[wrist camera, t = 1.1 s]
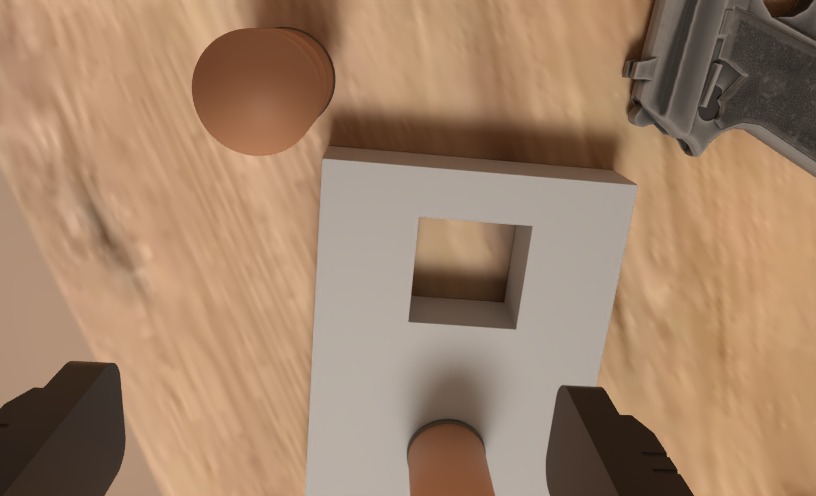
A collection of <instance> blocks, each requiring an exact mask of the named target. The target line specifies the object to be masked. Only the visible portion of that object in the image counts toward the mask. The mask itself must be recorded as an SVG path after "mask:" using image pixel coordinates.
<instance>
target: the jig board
mask: <svg viewBox="0 0 816 496" xmlns="http://www.w3.org/2000/svg"><path fill="white" fill-rule="evenodd" d="M637 189H638V185H637V184H635V183H634V182H632V181H630V180H629V179H627V178H625V177H624V176H622V175H621V174H619V173H617V172H616V171H614V170H604V169H592V168H581V167H569V166H558V165H546V164H534V163H523V162H511V161H500V160H488V159H477V158H465V157H454V156H442V155H430V154H419V153H407V152H396V151H384V150H373V149H361V148H350V147H338V146H328V148H327V150H326V152H325V154H324V156H323V158H322V176H321V195H320V215H319V234H318V253H317V273H316V292H315V312H314V331H313V350H312V370H311V389H310V409H309V428H308V447H307V467H306V486H305V496H550V494H549V491H548V487H547V481H546V454H547V448H548V442H549V436H550V430H551V424H552V418H553V413H554V407H555V401H556V396H557V392H558V389H559V388H560V386H561V385H571V386H593V387H596V383H597V378H598V374H599V369H600V364H601V359H602V355H603V350H604V345H605V341H606V336H607V331H608V326H609V322H610V317H611V312H612V307H613V303H614V298H615V293H616V288H617V284H618V279H619V274H620V270H621V265H622V260H623V255H624V251H625V246H626V241H627V236H628V232H629V227H630V222H631V217H632V213H633V208H634V203H635V199H636V194H637ZM419 217H425V218H438V219H450V220H463V221H475V222H488V223H500V224H513V225H516V228H515V235H514V241H513V248H512V255H511V261H510V268H509V274H508V281H507V287H506V294H505V300H504V302H491V301H477V300H463V299H449V298H436V297H422V296H411V291H412V281H413V271H414V262H415V252H416V242H417V232H418V223H419Z"/></svg>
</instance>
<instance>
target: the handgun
mask: <svg viewBox="0 0 816 496" xmlns="http://www.w3.org/2000/svg"><path fill="white" fill-rule="evenodd" d="M622 77H625V78H630V79H635V83H634V87H633V91H632V95H631V100H632V103H633V105H634V107H633V108H632V110H631V111H630V112H629V113H628V120H629V122H630V123H632V124H634V125H637V126H640V127H644V126H647V125H650V124H654V125H655V126H656V127H657V128H658V129H659V130H660V131H661V132H662V133H663V134H664V135H670V136H671V137H672V138H676V139H677V140H678V142H679V144H680V146H681V149H682V150H683V151H684V152H685V154H687V155H689V156H693V157H697V156H700V155H701V154H702V153H703V151H704V150H705V149H706V147H707V146H708V144H709V143H710V142H712V141H713V140H714V139H715V138H716V137H717V136H719V135H720V134H721V133H722V132H725V131H728V130H730V129H733V128H735V129H743V130H745V131H746V132H748V133H749V134H751V135H752V136H754V137H755V138H757V139H758V140H760V141H761V142H763V143H764V144H766V145H767V146H769V147H771V148H772V149H774V150H775V151H777V152H778V153H780V154H781V155H783V156H784V157H786V158H787V159H789V160H790V161H792V162H793V163H795V164H796V165H798V166H799V167H801V168H802V169H804V170H805V171H807V172H808V173H810V174H811V175H813V176H814V177H816V0H798V1H797V2H796V4H795V5H794V6H793V8H792V9H791V10H790V11H789V12H787V13H785V14H783V15H781V16H779V17H771V15H770V13H769V11H768V10H767V8H766V6H765V4H764V3H763V0H655V4H654V8H653V12H652V16H651V19H650V23H649V27H648V31H647V35H646V39H645V43H644V47H643V51H642V55H641V57H640V58H637V59H633V60H629V61H626V64H625V68H624V72H623V76H622Z"/></svg>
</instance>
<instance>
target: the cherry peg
mask: <svg viewBox="0 0 816 496" xmlns="http://www.w3.org/2000/svg"><path fill="white" fill-rule="evenodd" d="M334 89H335V70H334V66H333V63H332V60H331V58H330V56H329V54H328V52H327V51H326V49H325V48H324V46H323V45H322V44H321V43H320V42H319V41H318V40H317V39H315V38H314V37H313V36H311V35H310V34H308V33H306V32H304V31H302V30H299V29H296V28H290V27H277V28H247V29H239V30H235V31H231V32H229V33H226V34H224V35H222V36H220V37H219V38H217V39H216V40H215V41H213V42H212V43H211V44H210V45H209V46H208V47H207V48H206V49H205V50H204V52H203V53H202V55H201V56H200V58H199V60H198V62H197V64H196V67H195V70H194V74H193V79H192V96H193V101H194V106H195V109H196V111H197V114H198V116H199V118H200V120H201V122H202V123H203V125H204V126H205V128H206V129H207V130H208V132H209V133H210V134H211V135H212V136H213V137H214V138H215V139H216V140H217V141H219V142H220V143H221V144H223V145H224V146H226V147H228V148H230V149H232V150H234V151H236V152H239V153H242V154H246V155H252V156H266V155H272V154H276V153H279V152H282V151H284V150H286V149H288V148H290V147H292V146H293V145H294V144H296V143H297V142H298V141H299V140H300V139H301V138H302V137H303V136H304V135H305V134H306V132H307V131H308V130H309V128H310V127H311V126H312V124H313V123H314V122H315V120H316V119H317V118H318V117H319V116H320V115H321V114H322V113H323V112H324V110H325V109H326V108H327V106H328V105H329V103H330V101H331V99H332V96H333V93H334Z"/></svg>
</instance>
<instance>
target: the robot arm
mask: <svg viewBox="0 0 816 496" xmlns="http://www.w3.org/2000/svg"><path fill="white" fill-rule="evenodd" d="M124 450H125V427H124V414H123V403H122V391H121V380H120V372H119V369H118V367H117V365H116V364H115V363H103V362H82V361H81V362H80V361H70V362H68V363H67V364H65V365H64V366H63V368H62V369H61V370H60V371H59V372H58V373H57V374H56V375H55V376H54V377H53V378H52V379H51V380H50V382H49V383H48V384H47V385H46V386H45V387H44V388H32V389H31V390H29V391H27V392H25V393H23V394H22V395H20V396H18V397H16V398H15V399H13V400H11V401H9V402H7V403H6V404H4V405H3V406H2V408H0V496H104V495H105V494H106V492H107V490H108V489H109V487H110V485H111V484H112V482H113V480H114V478H115V476H116V475H117V473H118V471H119V469H120V466H121V464H122V460H123V456H124ZM546 481H547V487H548V491H549V494H550V496H694V495H693V493H692V492H691V490H690V489H689V487H688V486H687V484H686V482H685V481H684V479H683V478H682V476H681V475H680V474H678V473H677V468H676V467H675V465H674V464H673V462H672V461H671V459H670V458H669V457H667V453H666V451H665V450H664V448H663V447H662V445H661V444H660V442H659V440H658V439H657V437H656V436H655V434H654V433H653V432H652V431H650V430H649V429H648V428H647V427H645V426H644V425H643V424H642V423H640V422H639V421H638V420H637V419H635V418H634V417H633V416H632V415H619V413H618V411H617V410H616V408H615V406H614V405H613V403H612V401H611V399H610V398H609V396H608V394H607V393H606V391H605V390H604V388H602V387H593V386H571V385H561V386H560V388H559V389H558V392H557V396H556V401H555V407H554V413H553V418H552V424H551V430H550V436H549V442H548V448H547V454H546Z"/></svg>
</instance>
